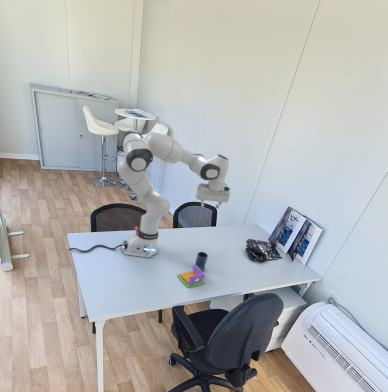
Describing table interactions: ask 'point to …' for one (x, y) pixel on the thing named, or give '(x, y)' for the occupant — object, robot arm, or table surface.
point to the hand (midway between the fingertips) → (209, 207)
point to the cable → (254, 255)
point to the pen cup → (201, 260)
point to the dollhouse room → (193, 277)
